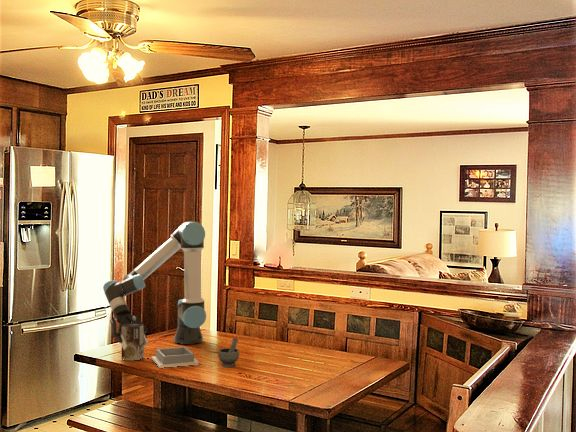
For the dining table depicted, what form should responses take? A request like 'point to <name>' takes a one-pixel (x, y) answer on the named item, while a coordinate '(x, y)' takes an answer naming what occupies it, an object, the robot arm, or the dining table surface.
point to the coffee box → (133, 341)
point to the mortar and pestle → (229, 354)
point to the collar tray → (174, 357)
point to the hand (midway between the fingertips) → (136, 346)
